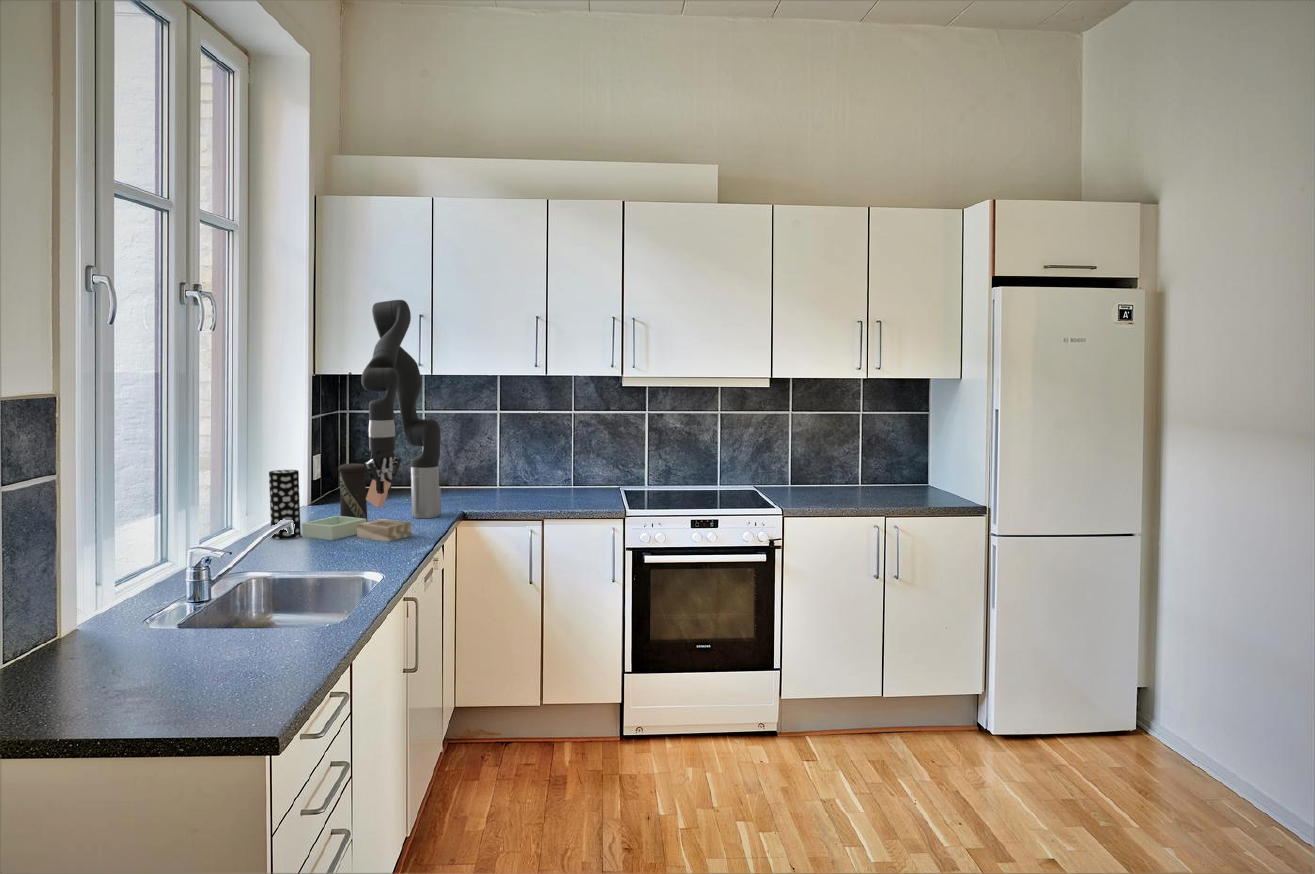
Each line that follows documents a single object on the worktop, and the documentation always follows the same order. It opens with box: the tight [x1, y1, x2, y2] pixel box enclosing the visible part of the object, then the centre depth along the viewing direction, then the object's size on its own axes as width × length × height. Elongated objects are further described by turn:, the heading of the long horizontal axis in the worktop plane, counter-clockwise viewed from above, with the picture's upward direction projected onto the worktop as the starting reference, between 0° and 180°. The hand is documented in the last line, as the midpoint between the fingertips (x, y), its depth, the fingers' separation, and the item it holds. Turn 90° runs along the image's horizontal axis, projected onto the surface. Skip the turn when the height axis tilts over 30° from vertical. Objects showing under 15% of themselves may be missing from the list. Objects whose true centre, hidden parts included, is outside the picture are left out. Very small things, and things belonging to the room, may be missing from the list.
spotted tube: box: [268, 469, 302, 540], centre depth 278 cm, size 8×8×20 cm
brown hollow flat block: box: [356, 518, 413, 542], centre depth 275 cm, size 10×12×5 cm
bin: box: [301, 515, 366, 541], centre depth 278 cm, size 14×12×5 cm
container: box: [337, 462, 368, 522], centre depth 298 cm, size 9×9×20 cm
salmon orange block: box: [366, 475, 392, 508], centre depth 275 cm, size 2×5×8 cm, turn 64°
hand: (383, 492), depth 274 cm, fingers closed on salmon orange block, 2 cm apart
